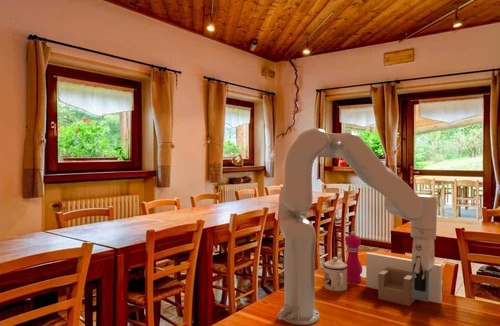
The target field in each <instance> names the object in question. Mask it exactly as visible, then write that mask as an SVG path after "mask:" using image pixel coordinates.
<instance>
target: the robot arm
mask: <svg viewBox="0 0 500 326" xmlns="http://www.w3.org/2000/svg"><path fill="white" fill-rule="evenodd" d="M318 157H320V158H331V159H342V160H344V161H345V163H346V164H347V165H348V166H349V167H350V168H351V169H352V170H353V172H354V173H355V175H357V177H358V178H359V179H360V180H361V181H362V182H363V183H364V184H365V185H367V186H368V187H370V188H372V189H374V190H375V191H377V192H378V193H380V194H381V195H383V197H385V200H384V208H385V210H386V212H388V213H389V214H391V215H393V216H395V217H398V218H401V219H403V220H406V221H410V237H411V238H413V240H412V248H411V251H412V252H411V259H412V267H413V268H415V281H414V289H415V290H418V291H422V292H425V285H426V279H425V270H426V271H429V270H430V269H431V268H432V267H433V266H434V264H435V263H436V261H435V240H436V239H437V219H438V217H437V216H438V214H437V213H438V199H437V197H436V196H435V195H431V194H424V193H423V194H418V193H416V192H415V191H414V190H413V189H412V188H411V187H410V185H409V184H408V183H407V182H406V181H405V180H403V178H401V177H400V176H399V175H398V174H396V173H395V172H394V171H393V170H391V169H390V168H389V167H388V166H387V165H385V164H384V162H383V161H382V160H381V159H380V158H379V157H378V156H377V155H376V153H375V152H374V151H373V150H372V149H371V147H370V146H369V145H368V144H367V143H366V142H365V141H364V139H363V138H362V137H361V136H360V135H359V134H357V133H355V132H350V131H349V132H342V133H334V132H333V133H332V132H327V131H326V130H324V129H322V128H316V127H314V128H310V129H307V130H304V131H302V132H301V133H299V135H298V136H297V138H296V140H295V141H293V143H292V145H291V146H290V148H289V149H288V151H287V154H286V157H285V164H284V184H283V185H282V187H281V189H280V191H279V195H278V208H279V209H278V216H279V217H278V218H279V219H278V220H279V231H280V233H281V235H282V236H283V238H284V251H283V270H284V271H283V273H284V275H283V276H284V277H283V278H284V281H283V282H284V284H283V285H284V286H283V287H284V288H283V289H284V292H283V293H284V298H283V299H284V304H283V307H282V308H280V310H279V312H278V313H277V315H276V316H277V317H276V318H278V320H280V321H282V320H283V321H284V322H285V323H289V324H291V325H299V326H305V325H306V326H307V325H311V324H314V323H316V322H318V321H319V320H320V318H321V316H320V311H318V309H316V308H315V295H316V294H315V291H316V290H315V287H316V286H315V252H316V244H317V234H316V229H315V226H314V225H313V223H311V221H309V219H308V218H307V215H308V214H307V212H308V211H309V209H310V208H311V207H312V205H313V167H314V162H315V160H316V159H317V158H318ZM420 267H423V269H420ZM420 271H422V272H420Z"/></svg>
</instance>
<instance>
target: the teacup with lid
mask: <svg viewBox="0 0 500 326" xmlns="http://www.w3.org/2000/svg"><path fill="white" fill-rule="evenodd" d="M347 268H348V266H347V264H346V262H344V261H341V259H339V258H338V257H337V256H334V257H332V259H330V260H328V261H327V260H326V261H325V262H324V263H323V286H324V288H325V289H326V290H329V291H331V292H343V291H346V290H347V289H348V281H347Z"/></svg>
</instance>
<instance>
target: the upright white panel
mask: <svg viewBox="0 0 500 326" xmlns="http://www.w3.org/2000/svg"><path fill="white" fill-rule="evenodd" d="M365 257H366V258H365V260H366V261H365V262H366V263H365V267H366V268H365V270H366V271H365V272H366V273H365V277H366V278H365V279H366V281H365V282H366V283H365V285H366V288H369V289H370V288H371V289H375V290H378V291H377V292H378V293H377V295H378V296H377V297H378V299H379V300H382V301H383V300H384V301H387V302H392V303H395V304H400V305H403V306H408V307H409V306H411V305H412V304H413V303H414V302H415V300H416V299H414V298H412V268H413V267H412V258H411V259H410V258H406V257H399V256H394V255H386V254H383V253H382V254H380V253H374V252H366V253H365ZM442 286H443V264H441V263H436V262H435V264H434V266H433V267H432V281H431V299H430V300H429V302H432V303H436V304H442V301H443V297H442V295H443V291H442V290H443V287H442Z"/></svg>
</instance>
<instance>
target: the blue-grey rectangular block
mask: <svg viewBox="0 0 500 326" xmlns="http://www.w3.org/2000/svg"><path fill="white" fill-rule="evenodd" d="M420 269H423V267H420ZM420 272H422V271H420ZM425 279H426V285H425V292H422V291H418V290H415V289H414V281H415V268H412V298H414V299H415V300H419V301H423V302H427V303H429V302H430V301H429V300H430V299H431V281H432V268H431V269H430V270H429V271H426V270H425Z"/></svg>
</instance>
